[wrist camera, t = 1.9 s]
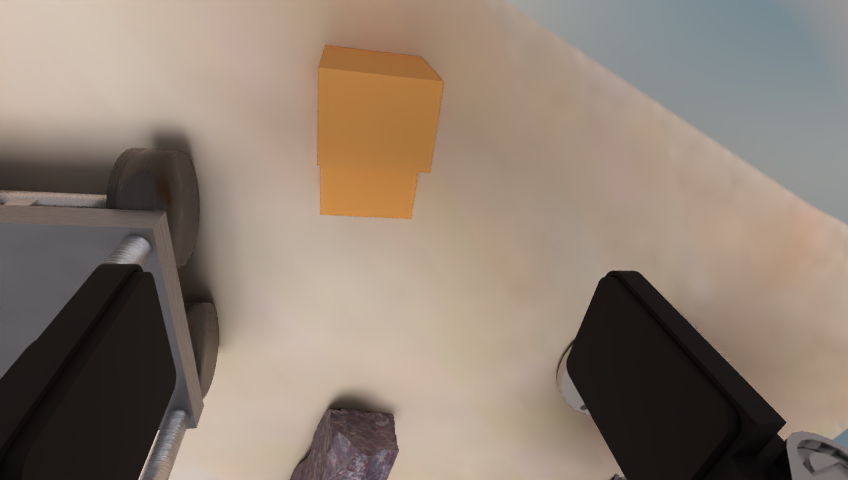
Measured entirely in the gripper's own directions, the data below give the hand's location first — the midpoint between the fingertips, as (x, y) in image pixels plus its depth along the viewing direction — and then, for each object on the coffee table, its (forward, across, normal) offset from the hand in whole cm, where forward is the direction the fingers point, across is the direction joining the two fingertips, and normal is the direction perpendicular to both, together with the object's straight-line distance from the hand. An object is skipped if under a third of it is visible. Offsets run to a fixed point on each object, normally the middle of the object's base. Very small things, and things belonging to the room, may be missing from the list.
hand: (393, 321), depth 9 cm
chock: (+18, 0, +1) cm, 18 cm away
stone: (+18, +1, +31) cm, 35 cm away
